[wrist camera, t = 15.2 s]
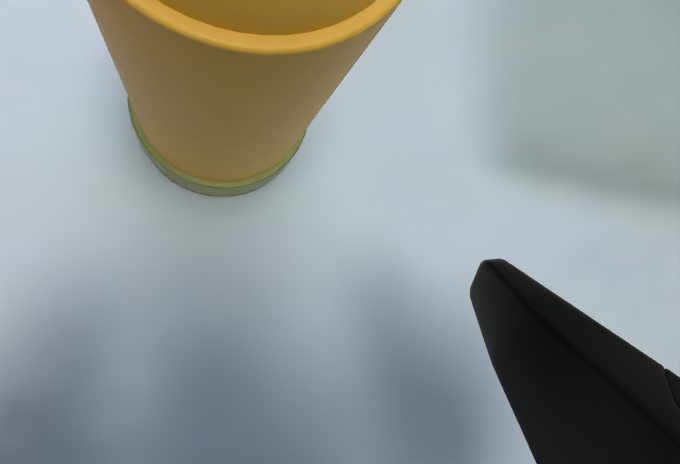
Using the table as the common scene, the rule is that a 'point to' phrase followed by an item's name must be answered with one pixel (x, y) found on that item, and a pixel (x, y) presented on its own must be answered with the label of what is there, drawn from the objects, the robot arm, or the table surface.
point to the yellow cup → (231, 79)
